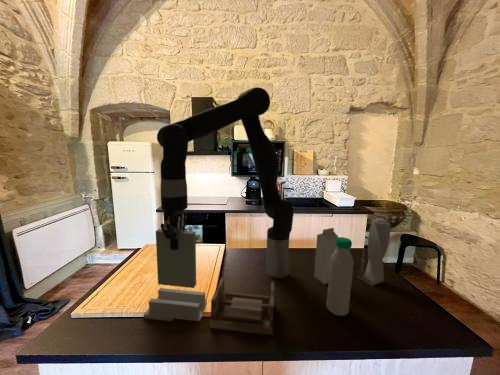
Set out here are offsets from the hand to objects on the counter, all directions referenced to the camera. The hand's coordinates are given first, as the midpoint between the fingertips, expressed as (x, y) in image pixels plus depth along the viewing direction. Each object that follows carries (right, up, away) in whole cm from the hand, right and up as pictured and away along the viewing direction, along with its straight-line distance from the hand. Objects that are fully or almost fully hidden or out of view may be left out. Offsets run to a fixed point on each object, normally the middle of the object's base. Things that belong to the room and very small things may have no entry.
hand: (176, 247), depth 69 cm
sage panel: (0, -12, +2) cm, 13 cm away
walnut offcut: (+21, -22, -2) cm, 30 cm away
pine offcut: (+22, -19, -3) cm, 29 cm away
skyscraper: (+74, -20, +23) cm, 80 cm away
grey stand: (-1, -21, +4) cm, 22 cm away
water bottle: (+53, -22, +5) cm, 57 cm away
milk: (+54, -20, +23) cm, 62 cm away
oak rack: (+21, -22, +1) cm, 31 cm away
